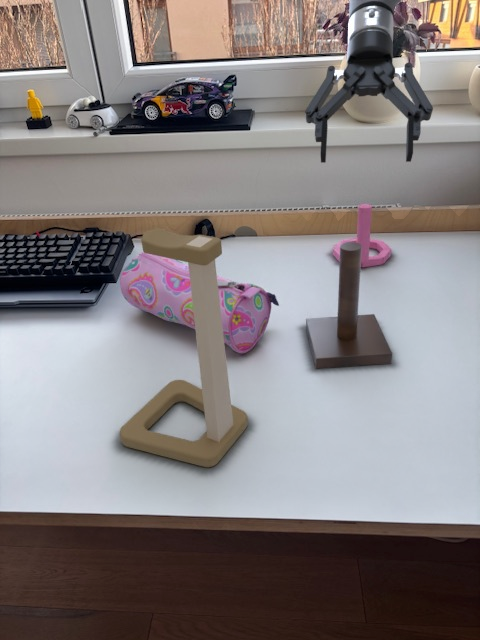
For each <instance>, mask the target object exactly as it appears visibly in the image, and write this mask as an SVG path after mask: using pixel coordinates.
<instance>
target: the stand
mask: <svg viewBox="0 0 480 640" xmlns="http://www.w3.org/2000/svg"><path fill="white" fill-rule="evenodd" d="M361 251H362V246H361V245H360V244H358V243H355V242H346V243H343V244H341V245H340V262H338V263H339V264H338V291H337V292H338V293H337V294H338V296H337V316H328V317H327V316H326V317H313V318H312V317H311V318H306V319H305V330H306V334H307V338H308V343H309V347H310V350H311V354H312V359H313V363H314V367H315V369H331V368H345V367H358V366H359V367H361V366H374V365H387V364H388V365H389V364H392V360H393V352H392V350H391V347H390V345H389V343H388V341H387V339H386V337H385V335H384V332H383V330H382V328H381V326H380V324H379V321H378V319H377V316H376V315H375V313H370V314H369V313H368V314H359V301H360V285H361V284H360V283H361V268H362V267H361Z"/></svg>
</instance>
